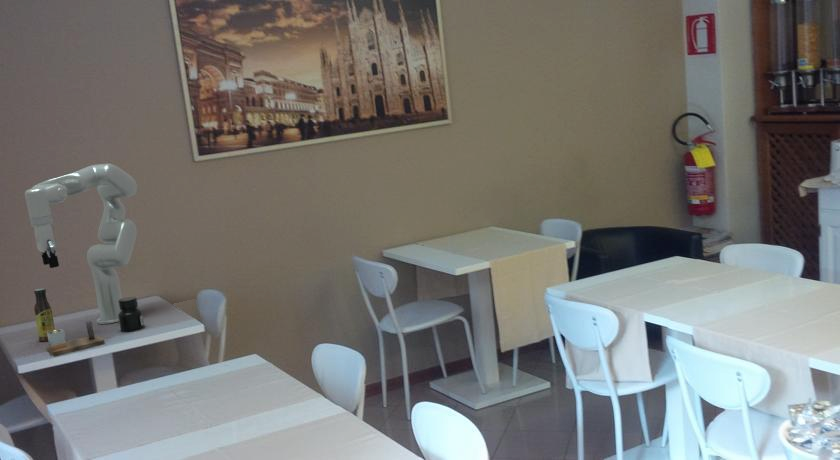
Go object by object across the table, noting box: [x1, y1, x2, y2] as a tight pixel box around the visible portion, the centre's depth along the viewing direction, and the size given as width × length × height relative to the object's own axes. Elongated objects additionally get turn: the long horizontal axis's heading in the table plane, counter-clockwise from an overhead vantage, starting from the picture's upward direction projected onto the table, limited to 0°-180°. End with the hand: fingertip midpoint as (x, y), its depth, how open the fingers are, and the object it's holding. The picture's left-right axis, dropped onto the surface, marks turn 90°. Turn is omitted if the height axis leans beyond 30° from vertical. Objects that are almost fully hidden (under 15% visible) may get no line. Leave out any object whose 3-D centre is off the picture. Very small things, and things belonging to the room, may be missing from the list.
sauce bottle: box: [33, 287, 56, 342], centre depth 349 cm, size 6×6×20 cm
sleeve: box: [47, 328, 67, 350], centre depth 330 cm, size 5×5×6 cm
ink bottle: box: [118, 296, 145, 333], centre depth 351 cm, size 10×9×12 cm
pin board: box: [45, 320, 106, 357], centre depth 333 cm, size 18×12×8 cm, turn 123°
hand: (51, 265), depth 340 cm, fingers open, 9 cm apart
